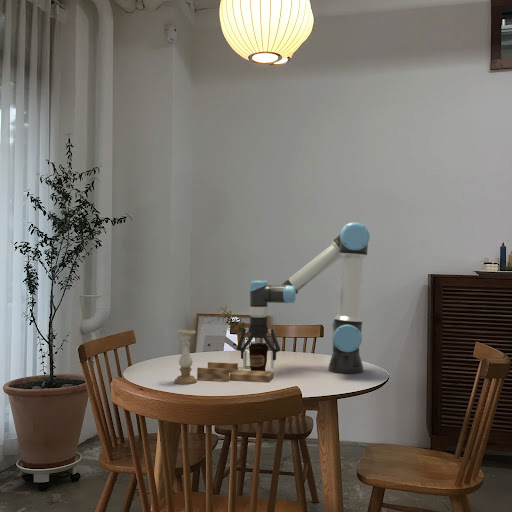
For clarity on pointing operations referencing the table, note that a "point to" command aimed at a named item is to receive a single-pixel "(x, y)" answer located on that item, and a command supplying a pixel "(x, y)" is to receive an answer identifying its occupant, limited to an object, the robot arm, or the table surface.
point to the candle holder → (185, 359)
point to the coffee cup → (258, 356)
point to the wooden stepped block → (232, 373)
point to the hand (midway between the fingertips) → (258, 367)
